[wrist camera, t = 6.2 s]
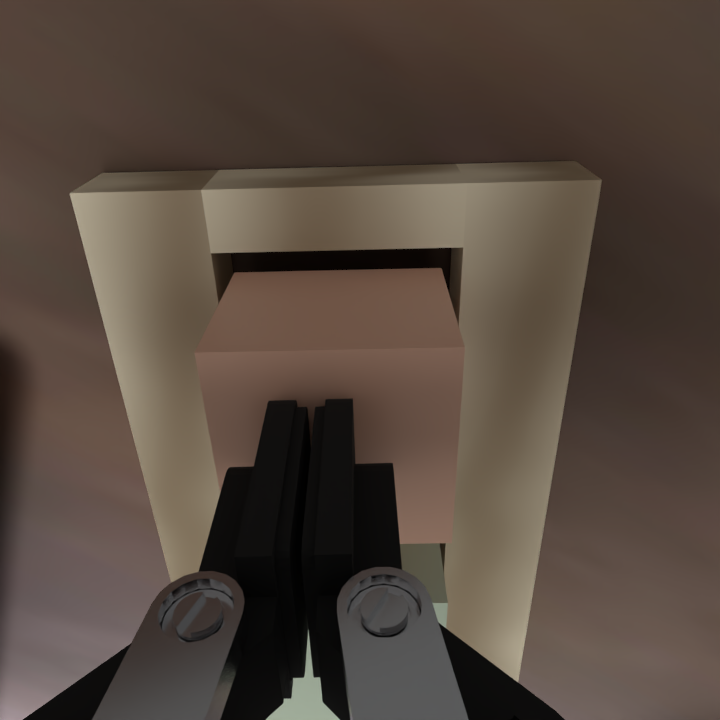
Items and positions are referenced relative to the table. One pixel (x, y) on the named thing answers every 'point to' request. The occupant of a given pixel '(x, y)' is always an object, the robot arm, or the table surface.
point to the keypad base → (360, 232)
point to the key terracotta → (345, 374)
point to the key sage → (306, 709)
